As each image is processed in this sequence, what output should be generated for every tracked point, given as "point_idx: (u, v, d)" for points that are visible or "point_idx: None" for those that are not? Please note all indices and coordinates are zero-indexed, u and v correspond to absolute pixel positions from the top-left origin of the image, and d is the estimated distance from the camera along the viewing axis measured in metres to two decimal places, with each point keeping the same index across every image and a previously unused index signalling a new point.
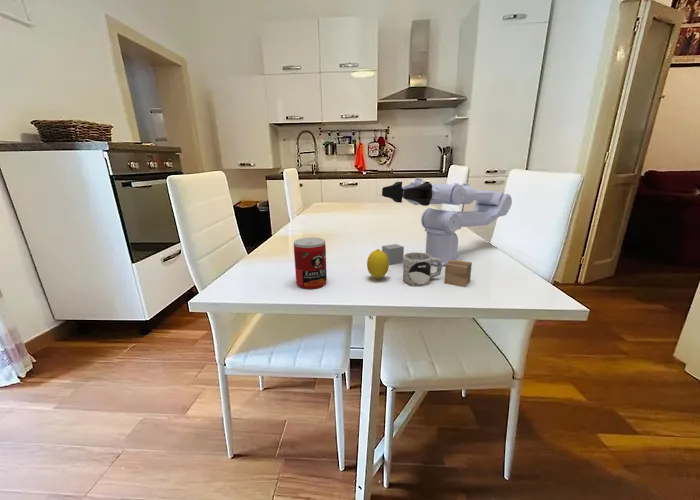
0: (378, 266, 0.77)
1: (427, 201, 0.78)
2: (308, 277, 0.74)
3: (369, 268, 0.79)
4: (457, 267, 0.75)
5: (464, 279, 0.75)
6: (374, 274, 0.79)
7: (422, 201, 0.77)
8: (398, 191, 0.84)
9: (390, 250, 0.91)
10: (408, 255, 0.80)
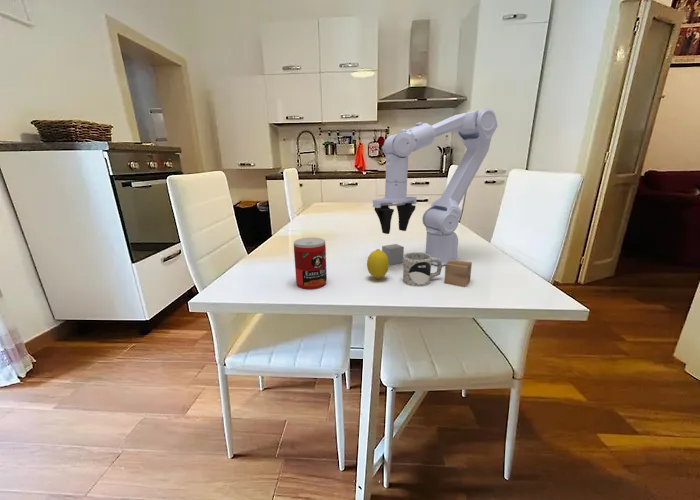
0: (378, 266, 0.77)
1: (385, 212, 0.81)
2: (308, 277, 0.74)
3: (369, 268, 0.79)
4: (457, 267, 0.75)
5: (464, 279, 0.75)
6: (374, 274, 0.79)
7: (386, 216, 0.82)
8: (402, 211, 0.88)
9: (390, 250, 0.91)
10: (408, 255, 0.80)
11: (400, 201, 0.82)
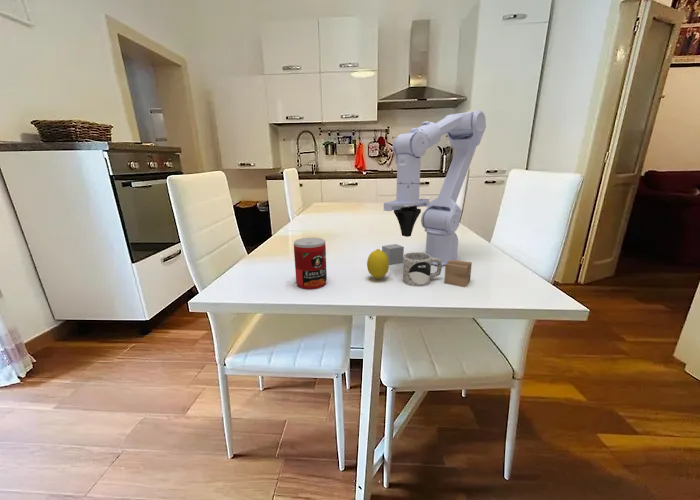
0: (378, 266, 0.77)
1: (405, 214, 0.79)
2: (308, 277, 0.74)
3: (369, 268, 0.79)
4: (457, 267, 0.75)
5: (464, 279, 0.75)
6: (374, 274, 0.79)
7: (406, 219, 0.79)
8: None
9: (390, 250, 0.91)
10: (408, 255, 0.80)
11: (412, 204, 0.78)
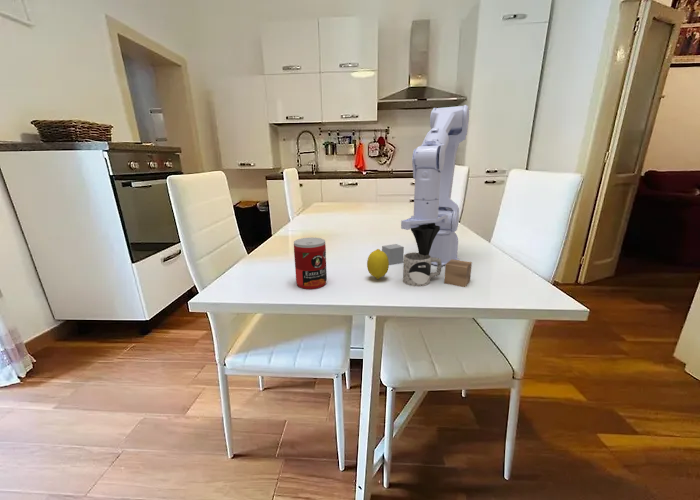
0: (378, 266, 0.77)
1: (423, 232, 0.73)
2: (308, 277, 0.74)
3: (369, 268, 0.79)
4: (457, 267, 0.75)
5: (464, 279, 0.75)
6: (374, 274, 0.79)
7: (425, 237, 0.74)
8: None
9: (390, 250, 0.91)
10: (408, 255, 0.80)
11: (432, 221, 0.73)
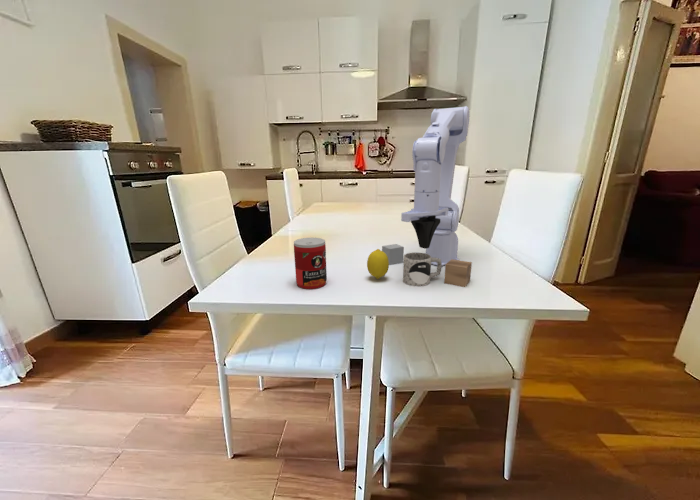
0: (378, 266, 0.77)
1: (424, 224, 0.73)
2: (308, 277, 0.74)
3: (369, 268, 0.79)
4: (457, 267, 0.75)
5: (464, 279, 0.75)
6: (374, 274, 0.79)
7: (425, 229, 0.74)
8: None
9: (390, 250, 0.91)
10: (408, 255, 0.80)
11: (432, 214, 0.72)
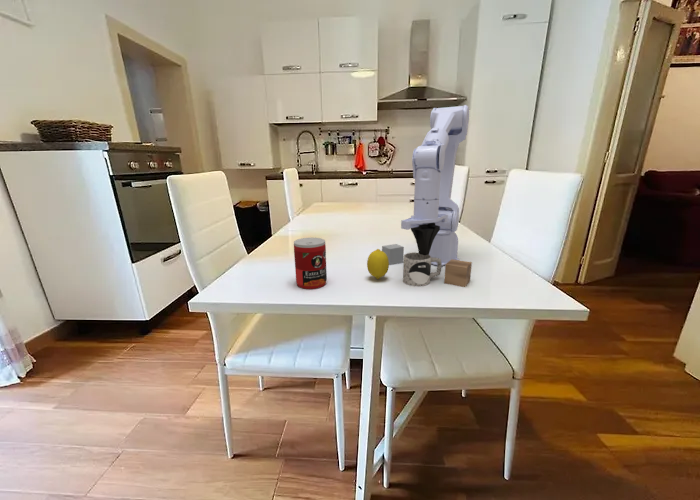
0: (378, 266, 0.77)
1: (423, 232, 0.73)
2: (308, 277, 0.74)
3: (369, 268, 0.79)
4: (457, 267, 0.75)
5: (464, 279, 0.75)
6: (374, 274, 0.79)
7: (425, 237, 0.74)
8: None
9: (390, 250, 0.91)
10: (408, 255, 0.80)
11: (432, 221, 0.73)
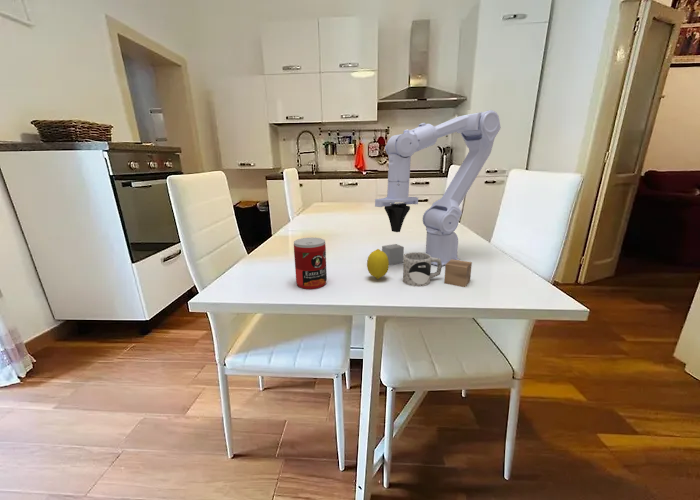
0: (378, 266, 0.77)
1: (395, 210, 0.83)
2: (308, 277, 0.74)
3: (369, 268, 0.79)
4: (457, 267, 0.75)
5: (464, 279, 0.75)
6: (374, 274, 0.79)
7: (396, 215, 0.84)
8: None
9: (390, 250, 0.91)
10: (408, 255, 0.80)
11: (402, 201, 0.83)
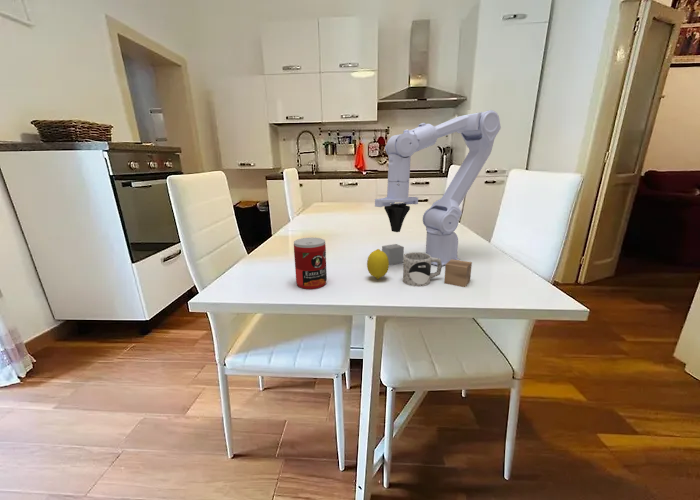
0: (378, 266, 0.77)
1: (394, 210, 0.83)
2: (308, 277, 0.74)
3: (369, 268, 0.79)
4: (457, 267, 0.75)
5: (464, 279, 0.75)
6: (374, 274, 0.79)
7: (396, 215, 0.84)
8: None
9: (390, 250, 0.91)
10: (408, 255, 0.80)
11: (402, 201, 0.83)
